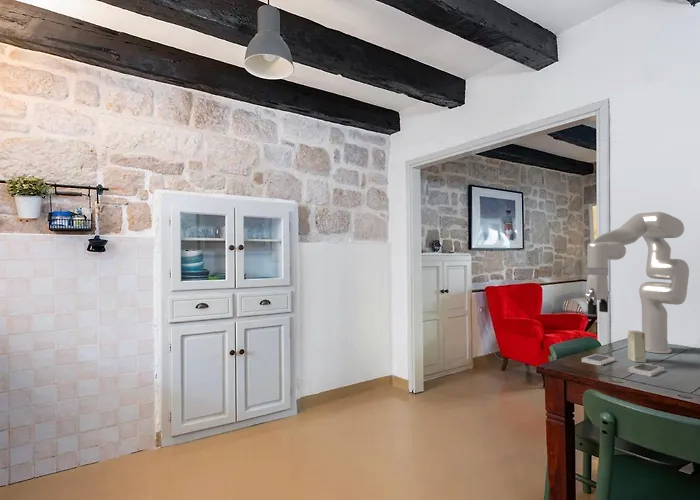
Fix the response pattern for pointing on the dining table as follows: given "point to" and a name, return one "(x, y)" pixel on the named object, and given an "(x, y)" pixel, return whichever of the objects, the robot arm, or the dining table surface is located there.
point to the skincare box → (636, 346)
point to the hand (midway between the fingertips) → (597, 312)
